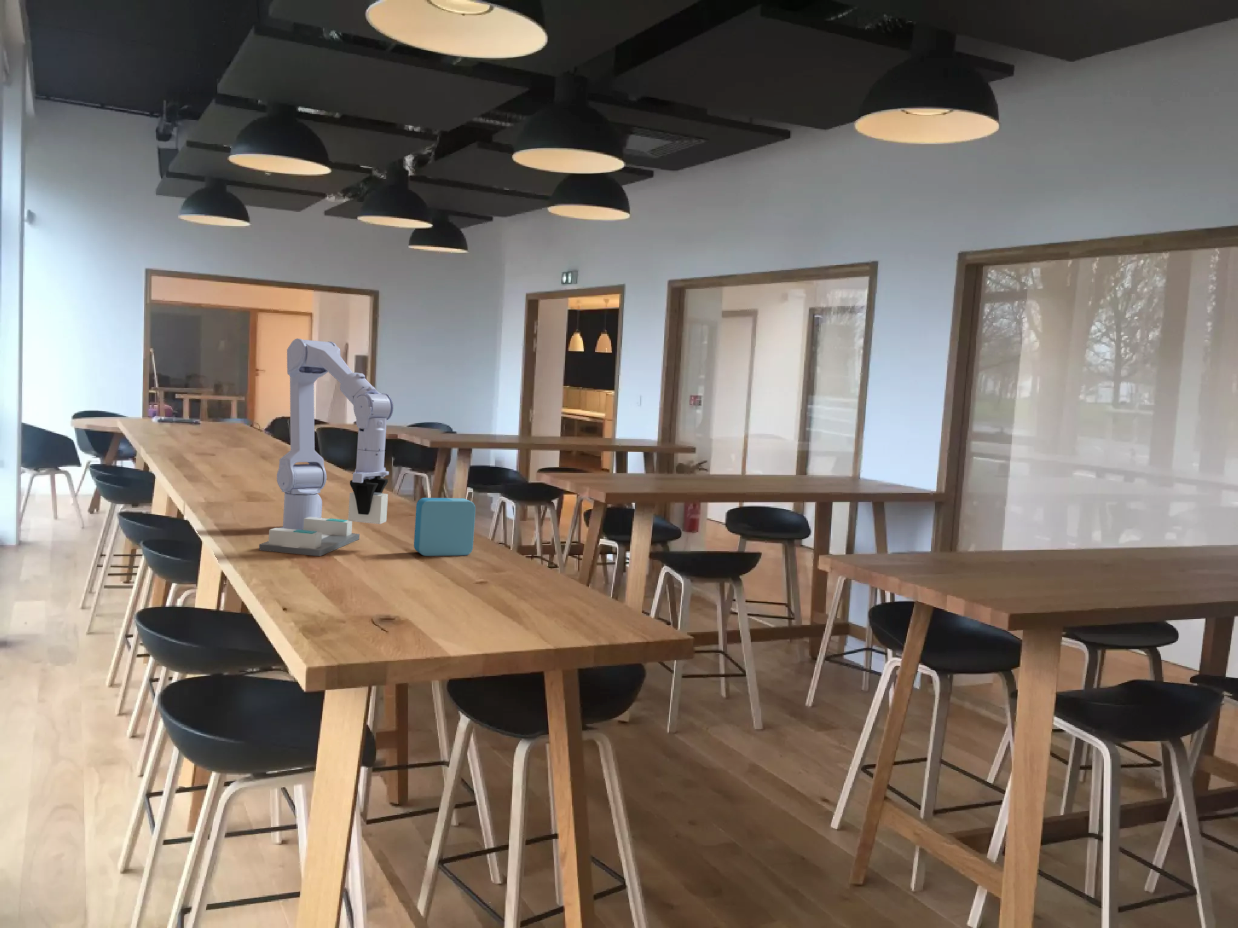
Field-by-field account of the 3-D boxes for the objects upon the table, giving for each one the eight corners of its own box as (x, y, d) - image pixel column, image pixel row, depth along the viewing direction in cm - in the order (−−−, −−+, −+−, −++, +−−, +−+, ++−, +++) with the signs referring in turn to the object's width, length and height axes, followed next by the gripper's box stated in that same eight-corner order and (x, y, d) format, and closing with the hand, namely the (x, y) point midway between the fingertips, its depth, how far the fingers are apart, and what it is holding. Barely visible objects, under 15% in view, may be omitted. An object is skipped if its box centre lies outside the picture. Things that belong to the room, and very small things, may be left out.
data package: (466, 551, 214) (469, 498, 213) (472, 555, 210) (476, 501, 209) (413, 552, 209) (416, 497, 208) (418, 556, 205) (422, 500, 204)
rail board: (304, 533, 219) (305, 514, 219) (359, 539, 218) (360, 520, 218) (259, 549, 198) (260, 529, 197) (320, 556, 196) (321, 535, 196)
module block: (355, 518, 209) (356, 490, 208) (386, 521, 208) (388, 493, 208) (348, 520, 205) (349, 492, 204) (380, 524, 204) (381, 495, 204)
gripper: (377, 453, 197) (373, 519, 199) (400, 449, 212) (396, 510, 213) (344, 450, 198) (340, 515, 199) (369, 446, 212) (365, 507, 214)
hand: (367, 512), depth 206 cm, fingers closed on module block, 4 cm apart
